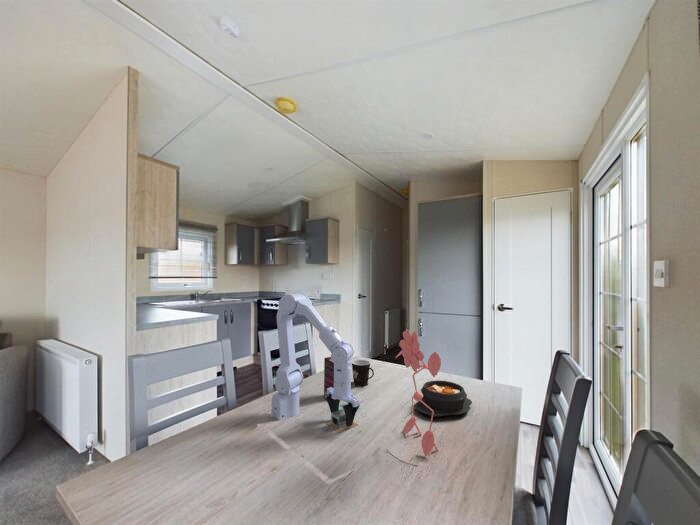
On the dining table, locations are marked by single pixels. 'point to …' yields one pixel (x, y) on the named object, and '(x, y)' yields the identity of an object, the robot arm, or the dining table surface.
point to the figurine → (413, 357)
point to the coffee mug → (361, 372)
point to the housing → (338, 419)
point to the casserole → (443, 399)
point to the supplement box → (328, 374)
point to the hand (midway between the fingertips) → (342, 421)
